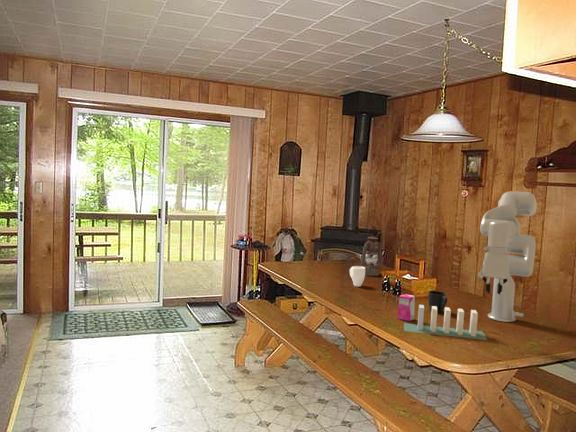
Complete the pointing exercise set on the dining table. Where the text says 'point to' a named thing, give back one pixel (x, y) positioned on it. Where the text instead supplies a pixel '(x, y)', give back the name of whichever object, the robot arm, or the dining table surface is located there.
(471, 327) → the domino
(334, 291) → the dining table surface
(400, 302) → the supplement box
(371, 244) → the lantern
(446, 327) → the domino
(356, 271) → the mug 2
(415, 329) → the runner mat
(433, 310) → the domino
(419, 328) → the domino
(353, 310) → the dining table surface
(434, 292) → the mug
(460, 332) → the domino
